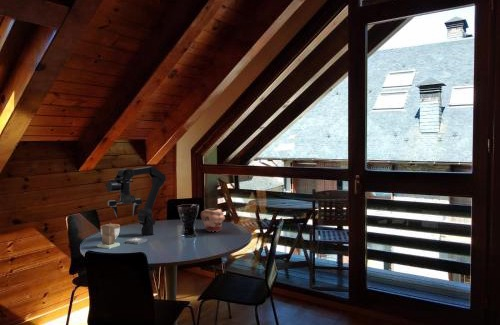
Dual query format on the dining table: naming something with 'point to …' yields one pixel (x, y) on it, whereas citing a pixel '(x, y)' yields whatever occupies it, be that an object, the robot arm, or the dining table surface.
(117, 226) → the lidded jar
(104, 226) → the walnut block
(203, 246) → the dining table surface
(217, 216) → the decorative planter
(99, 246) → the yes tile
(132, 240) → the tile
